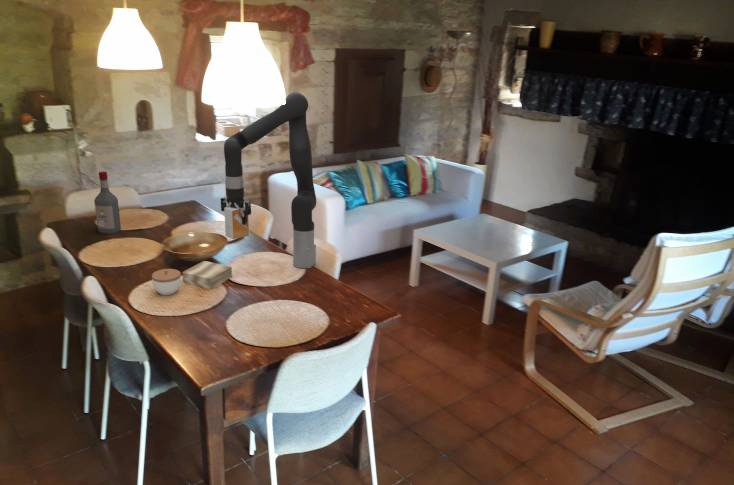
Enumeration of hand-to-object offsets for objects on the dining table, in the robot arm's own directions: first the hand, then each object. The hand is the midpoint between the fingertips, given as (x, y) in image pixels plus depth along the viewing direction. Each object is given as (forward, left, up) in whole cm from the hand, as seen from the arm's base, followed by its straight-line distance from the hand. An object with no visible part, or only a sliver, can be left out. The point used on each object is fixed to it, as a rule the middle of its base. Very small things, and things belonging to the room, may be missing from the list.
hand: (236, 222), depth 247 cm
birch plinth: (+2, +18, -21) cm, 27 cm away
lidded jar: (+8, +35, -20) cm, 41 cm away
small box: (0, 0, -6) cm, 6 cm away
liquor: (+81, -4, -20) cm, 84 cm away
